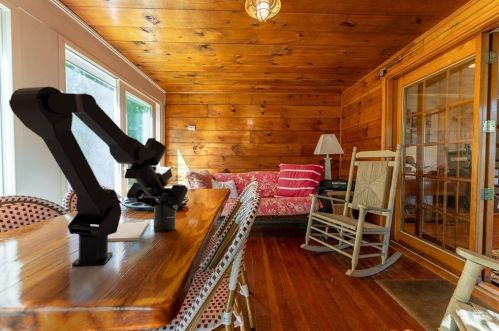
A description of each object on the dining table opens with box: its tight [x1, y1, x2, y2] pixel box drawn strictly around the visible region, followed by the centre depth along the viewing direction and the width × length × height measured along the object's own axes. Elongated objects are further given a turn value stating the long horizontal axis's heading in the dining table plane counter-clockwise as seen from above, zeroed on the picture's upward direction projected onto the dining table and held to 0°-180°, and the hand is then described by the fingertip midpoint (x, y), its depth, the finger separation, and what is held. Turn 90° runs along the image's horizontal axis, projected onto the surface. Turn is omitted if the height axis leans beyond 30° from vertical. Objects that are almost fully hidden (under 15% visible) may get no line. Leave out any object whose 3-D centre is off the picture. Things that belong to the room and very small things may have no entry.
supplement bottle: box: [153, 196, 177, 233], centre depth 88 cm, size 7×7×12 cm
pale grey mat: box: [108, 221, 150, 242], centre depth 83 cm, size 18×12×1 cm, turn 12°
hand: (167, 208), depth 89 cm, fingers closed on supplement bottle, 7 cm apart
